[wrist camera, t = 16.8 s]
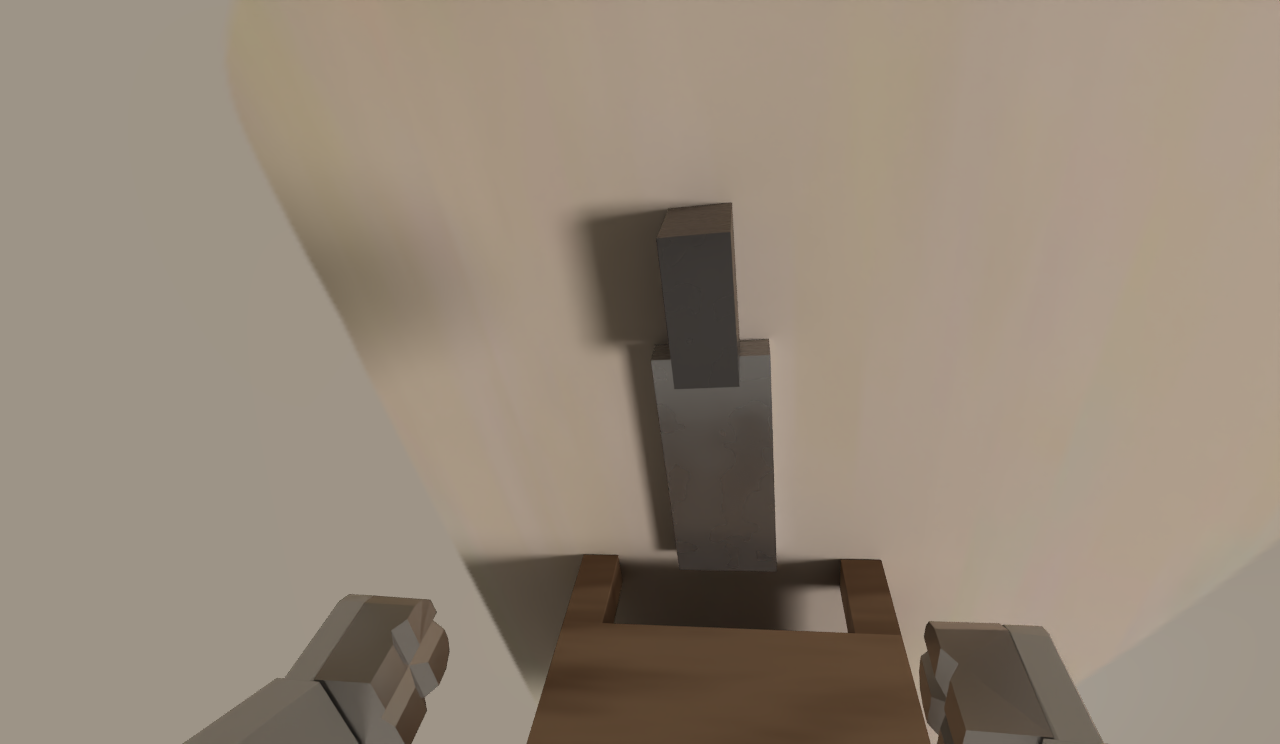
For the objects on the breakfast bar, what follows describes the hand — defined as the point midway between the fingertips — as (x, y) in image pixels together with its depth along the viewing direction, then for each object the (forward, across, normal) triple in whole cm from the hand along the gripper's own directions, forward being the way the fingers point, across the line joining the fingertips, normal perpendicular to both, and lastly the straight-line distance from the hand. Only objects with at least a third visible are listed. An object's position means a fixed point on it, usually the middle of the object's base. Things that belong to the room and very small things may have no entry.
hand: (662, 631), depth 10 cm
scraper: (+17, 0, +7) cm, 19 cm away
